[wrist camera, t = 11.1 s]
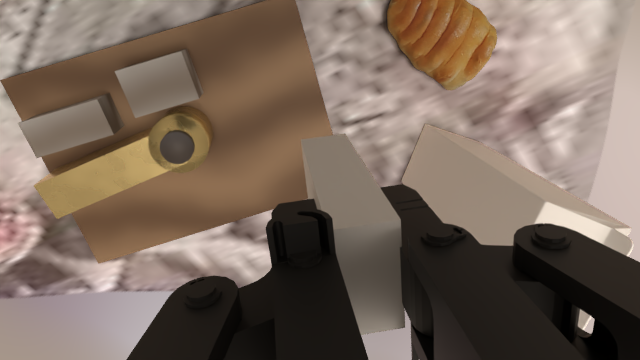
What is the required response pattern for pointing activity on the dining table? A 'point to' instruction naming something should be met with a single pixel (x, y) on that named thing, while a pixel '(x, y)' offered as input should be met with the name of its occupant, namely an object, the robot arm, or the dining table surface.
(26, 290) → the dining table surface
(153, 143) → the latch bar
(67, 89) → the board
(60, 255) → the dining table surface
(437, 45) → the pastry
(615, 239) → the milk
